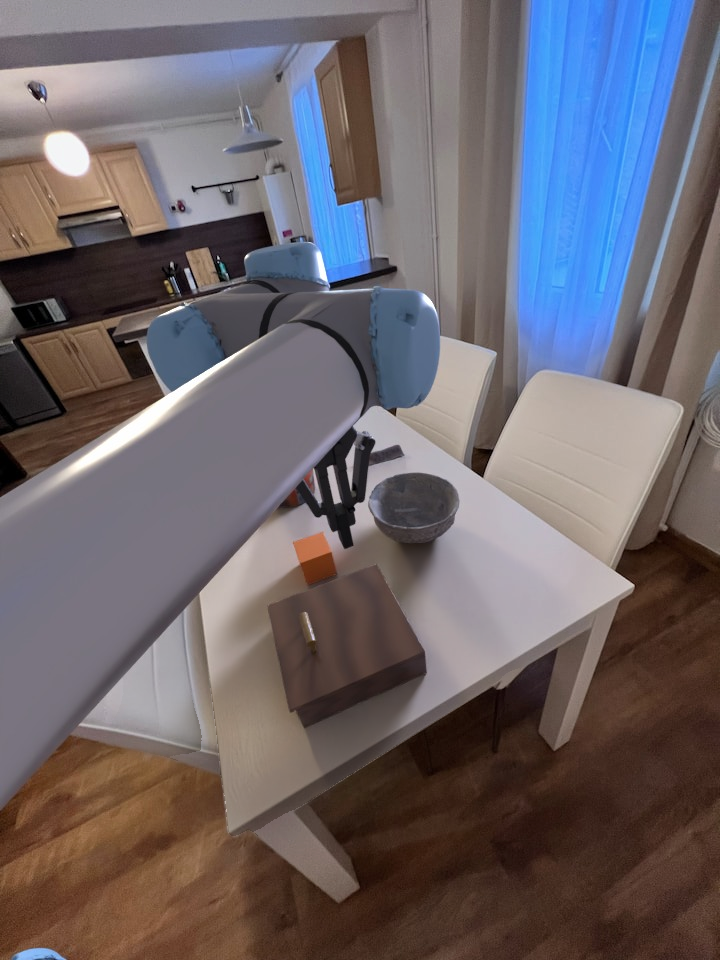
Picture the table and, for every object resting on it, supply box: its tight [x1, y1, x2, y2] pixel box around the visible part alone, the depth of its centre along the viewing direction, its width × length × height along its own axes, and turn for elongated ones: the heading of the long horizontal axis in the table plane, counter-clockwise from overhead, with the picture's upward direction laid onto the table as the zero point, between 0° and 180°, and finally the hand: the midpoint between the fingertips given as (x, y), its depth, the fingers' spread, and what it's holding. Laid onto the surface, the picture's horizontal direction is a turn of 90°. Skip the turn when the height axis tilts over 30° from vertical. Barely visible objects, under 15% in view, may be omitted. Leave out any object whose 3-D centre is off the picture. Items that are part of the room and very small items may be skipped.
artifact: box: [369, 444, 405, 466], centre depth 123 cm, size 4×14×2 cm, turn 106°
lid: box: [267, 563, 426, 714], centre depth 70 cm, size 23×21×4 cm
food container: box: [278, 468, 316, 508], centre depth 112 cm, size 16×16×11 cm
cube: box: [292, 531, 338, 586], centre depth 89 cm, size 7×7×7 cm
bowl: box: [367, 471, 460, 544], centre depth 94 cm, size 21×21×10 cm
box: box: [295, 653, 428, 729], centre depth 73 cm, size 22×21×6 cm
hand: (346, 541), depth 60 cm, fingers closed
